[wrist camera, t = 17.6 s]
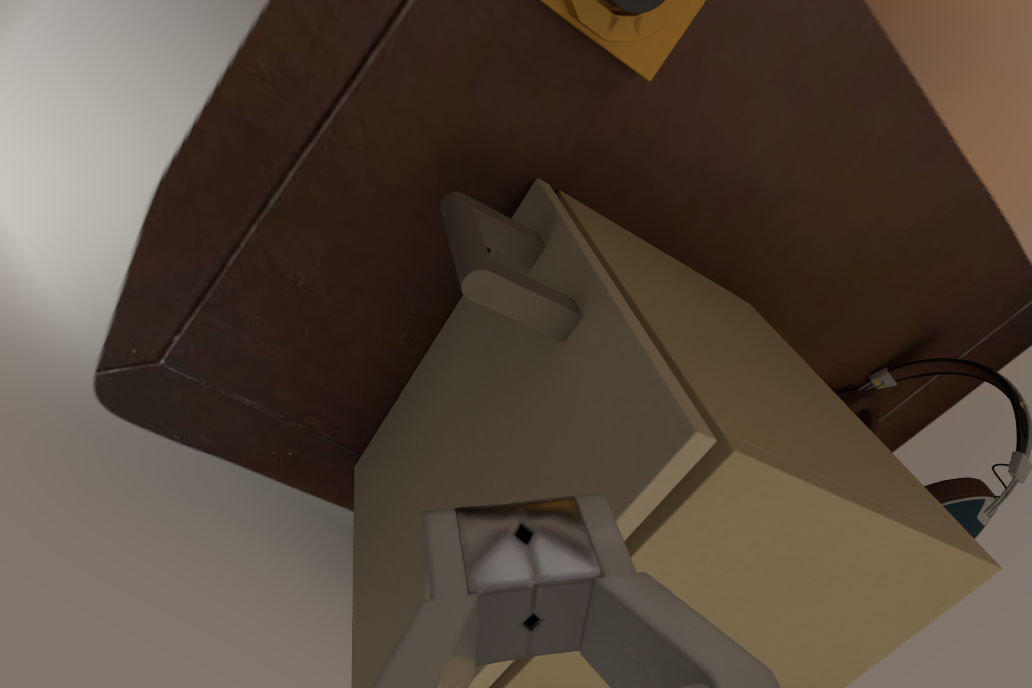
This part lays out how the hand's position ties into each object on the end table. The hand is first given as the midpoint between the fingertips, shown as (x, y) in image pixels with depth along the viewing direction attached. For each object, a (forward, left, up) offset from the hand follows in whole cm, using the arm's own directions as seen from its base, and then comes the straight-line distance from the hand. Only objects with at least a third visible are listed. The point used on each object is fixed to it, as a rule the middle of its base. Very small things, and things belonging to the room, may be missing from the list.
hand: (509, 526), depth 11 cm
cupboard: (+20, -13, -31) cm, 39 cm away
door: (+7, -14, -31) cm, 35 cm away
